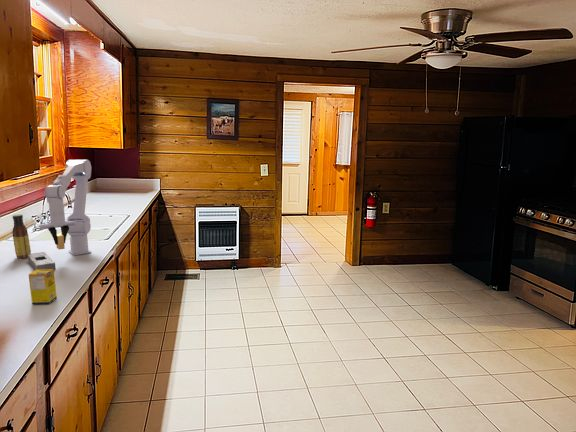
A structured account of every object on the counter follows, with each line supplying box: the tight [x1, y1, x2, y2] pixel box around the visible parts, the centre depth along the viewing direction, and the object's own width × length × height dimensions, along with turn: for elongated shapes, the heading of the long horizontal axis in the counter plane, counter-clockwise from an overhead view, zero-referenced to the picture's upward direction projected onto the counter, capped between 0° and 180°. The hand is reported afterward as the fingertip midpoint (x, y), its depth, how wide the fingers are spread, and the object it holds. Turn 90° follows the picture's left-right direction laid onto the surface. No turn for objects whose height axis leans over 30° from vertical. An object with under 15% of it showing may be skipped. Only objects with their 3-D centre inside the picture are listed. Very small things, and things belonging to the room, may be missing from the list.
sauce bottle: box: [12, 214, 32, 260], centre depth 223 cm, size 7×6×20 cm
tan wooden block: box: [55, 233, 65, 250], centre depth 212 cm, size 4×2×6 cm, turn 37°
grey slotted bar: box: [26, 251, 57, 271], centre depth 212 cm, size 22×7×3 cm, turn 37°
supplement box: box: [28, 269, 57, 305], centre depth 168 cm, size 6×6×11 cm
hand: (60, 243), depth 213 cm, fingers closed on tan wooden block, 2 cm apart
